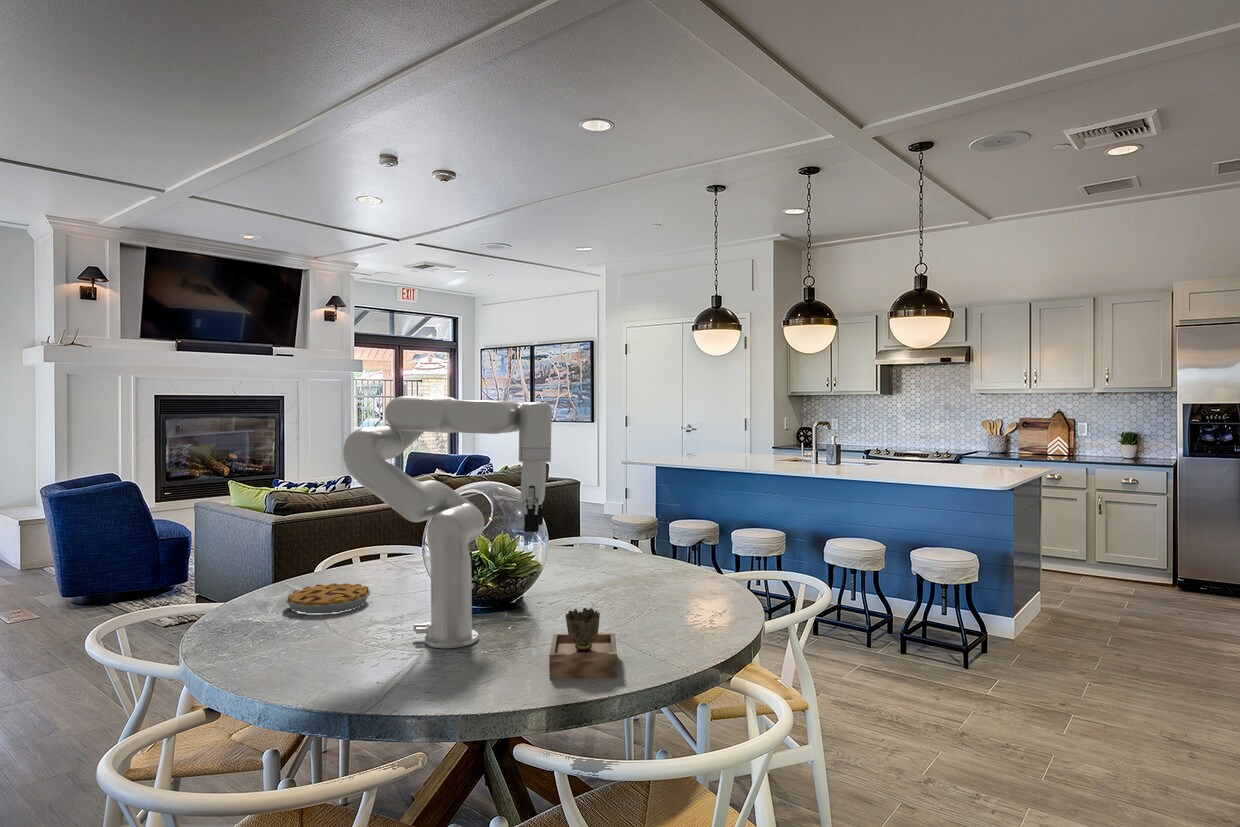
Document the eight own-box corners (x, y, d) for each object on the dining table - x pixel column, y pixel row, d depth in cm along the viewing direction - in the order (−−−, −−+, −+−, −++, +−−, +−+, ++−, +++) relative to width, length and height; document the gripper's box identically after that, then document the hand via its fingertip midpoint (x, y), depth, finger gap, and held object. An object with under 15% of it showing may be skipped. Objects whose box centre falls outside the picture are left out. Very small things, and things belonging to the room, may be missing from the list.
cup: (568, 657, 155) (567, 620, 154) (564, 644, 162) (563, 609, 162) (603, 654, 156) (602, 617, 156) (597, 641, 164) (596, 606, 163)
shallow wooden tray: (549, 681, 152) (549, 654, 152) (553, 657, 166) (553, 633, 166) (617, 680, 152) (616, 653, 152) (615, 657, 166) (615, 632, 166)
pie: (268, 615, 200) (268, 596, 199) (319, 594, 221) (319, 578, 221) (340, 620, 194) (339, 601, 194) (385, 599, 216) (384, 582, 216)
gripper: (523, 452, 180) (522, 521, 181) (513, 457, 163) (512, 534, 163) (553, 452, 180) (552, 522, 181) (547, 458, 163) (546, 535, 163)
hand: (533, 528), depth 172 cm, fingers open, 9 cm apart
